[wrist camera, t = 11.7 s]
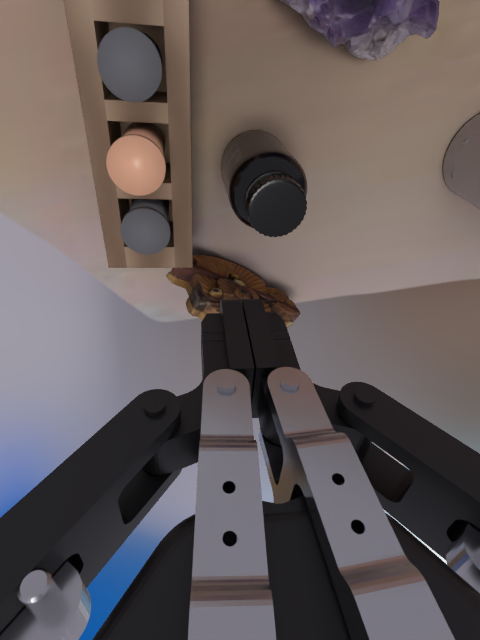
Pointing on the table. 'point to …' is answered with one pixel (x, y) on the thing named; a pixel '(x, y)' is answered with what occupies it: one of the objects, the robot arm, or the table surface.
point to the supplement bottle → (264, 183)
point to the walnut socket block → (137, 118)
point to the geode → (369, 22)
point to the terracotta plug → (138, 159)
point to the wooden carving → (227, 288)
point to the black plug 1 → (130, 64)
